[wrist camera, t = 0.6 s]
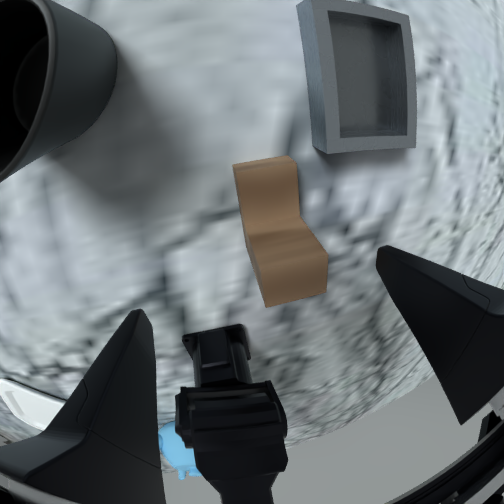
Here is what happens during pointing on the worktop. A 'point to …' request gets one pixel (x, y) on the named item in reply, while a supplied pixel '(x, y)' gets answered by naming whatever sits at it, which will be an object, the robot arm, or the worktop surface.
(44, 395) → the plate
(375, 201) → the worktop surface
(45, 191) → the worktop surface
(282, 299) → the tan toy chair
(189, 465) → the teapot
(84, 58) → the mug
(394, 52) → the grey rectangular tray
